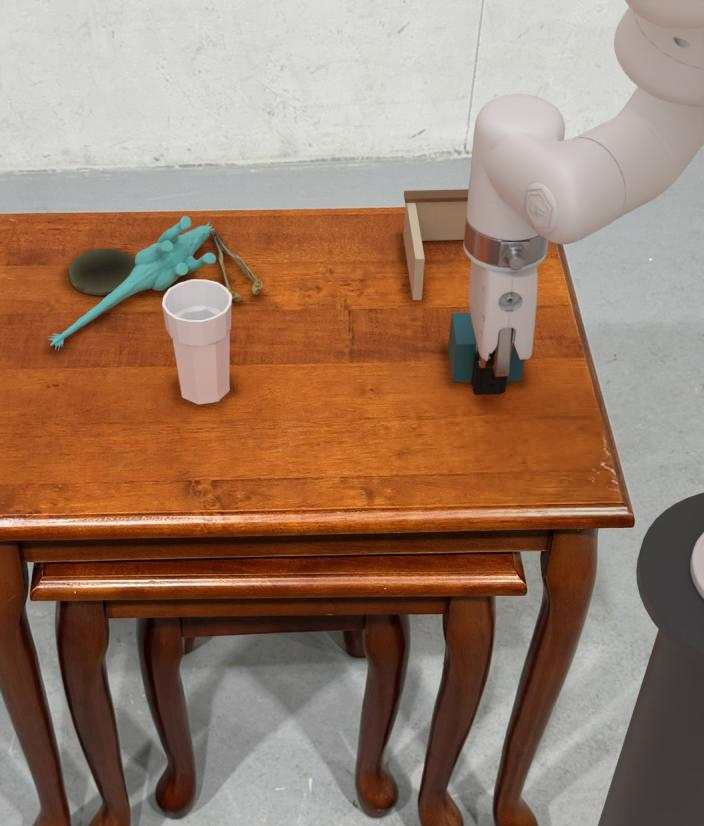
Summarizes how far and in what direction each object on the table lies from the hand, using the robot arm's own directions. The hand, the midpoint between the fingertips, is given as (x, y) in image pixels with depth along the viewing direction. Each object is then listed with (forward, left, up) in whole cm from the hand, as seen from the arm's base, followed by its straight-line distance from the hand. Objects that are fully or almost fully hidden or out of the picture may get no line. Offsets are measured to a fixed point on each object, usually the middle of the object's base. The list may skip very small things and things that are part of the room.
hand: (487, 389), depth 128 cm
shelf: (+15, -16, -1) cm, 22 cm away
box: (+3, -4, -1) cm, 5 cm away
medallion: (+44, +11, 0) cm, 46 cm away
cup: (+23, +17, -1) cm, 28 cm away
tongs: (+35, +1, -2) cm, 35 cm away
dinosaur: (+35, +11, +4) cm, 37 cm away
